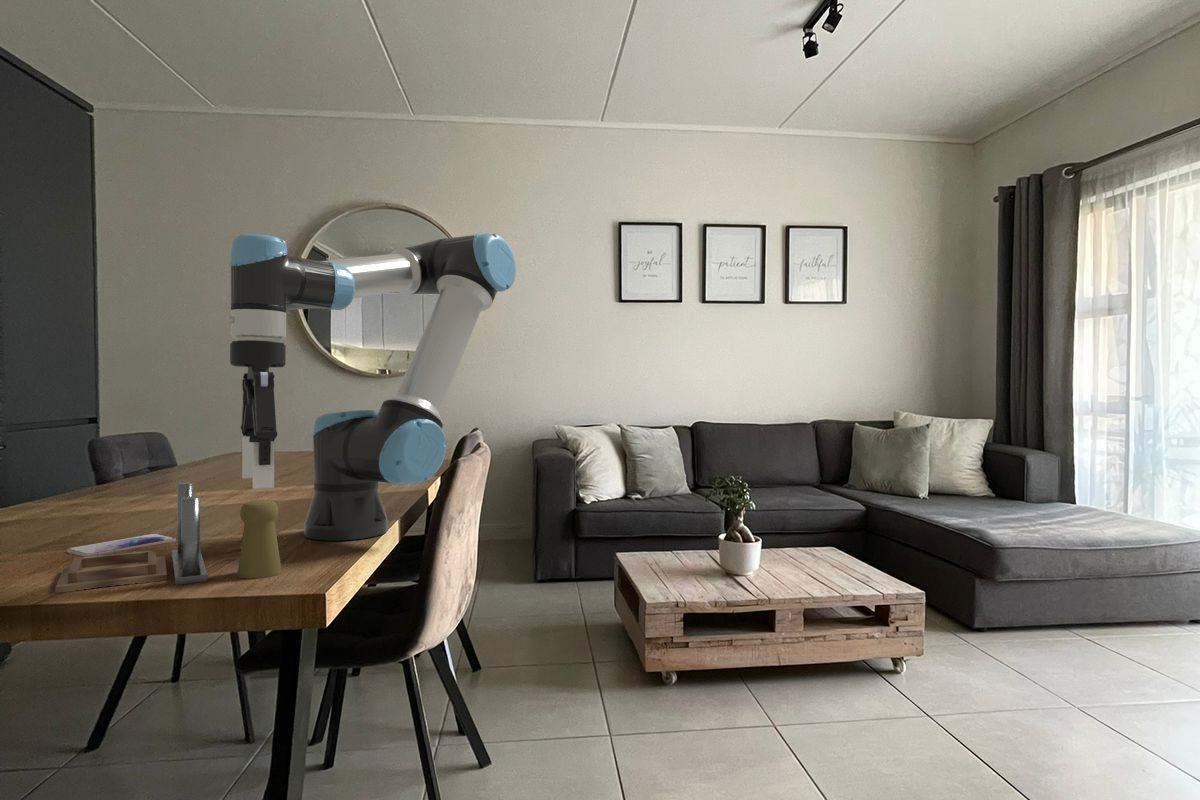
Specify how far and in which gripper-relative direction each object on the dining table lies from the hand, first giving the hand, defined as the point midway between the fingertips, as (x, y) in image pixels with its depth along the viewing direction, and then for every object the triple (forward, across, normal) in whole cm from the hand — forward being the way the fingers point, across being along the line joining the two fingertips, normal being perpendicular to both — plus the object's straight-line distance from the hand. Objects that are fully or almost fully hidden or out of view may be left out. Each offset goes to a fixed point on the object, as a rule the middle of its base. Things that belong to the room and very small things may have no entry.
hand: (257, 482), depth 110 cm
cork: (+14, 0, 0) cm, 14 cm away
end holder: (+14, -9, -18) cm, 24 cm away
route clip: (+14, -9, -8) cm, 19 cm away
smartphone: (+14, -32, -18) cm, 39 cm away
